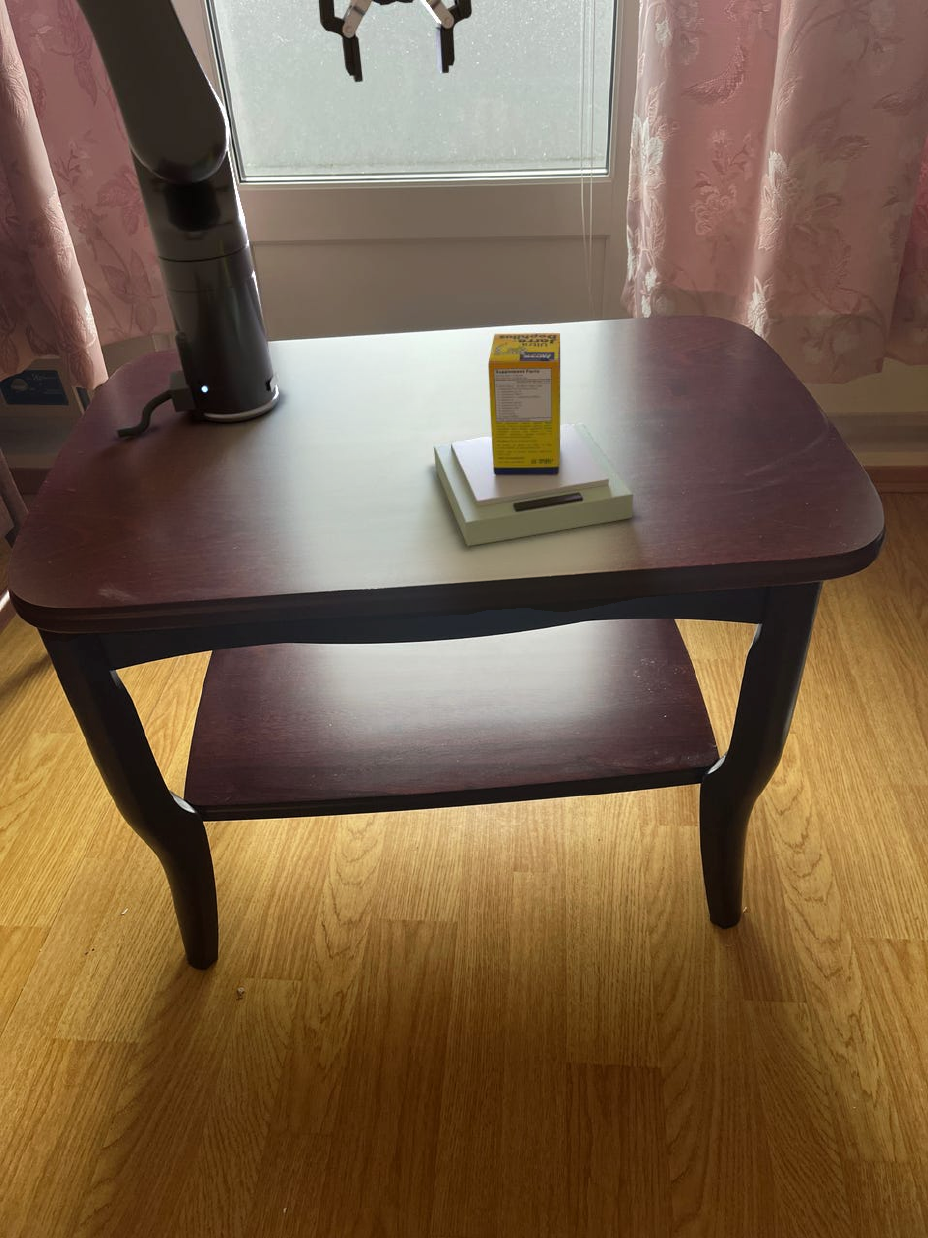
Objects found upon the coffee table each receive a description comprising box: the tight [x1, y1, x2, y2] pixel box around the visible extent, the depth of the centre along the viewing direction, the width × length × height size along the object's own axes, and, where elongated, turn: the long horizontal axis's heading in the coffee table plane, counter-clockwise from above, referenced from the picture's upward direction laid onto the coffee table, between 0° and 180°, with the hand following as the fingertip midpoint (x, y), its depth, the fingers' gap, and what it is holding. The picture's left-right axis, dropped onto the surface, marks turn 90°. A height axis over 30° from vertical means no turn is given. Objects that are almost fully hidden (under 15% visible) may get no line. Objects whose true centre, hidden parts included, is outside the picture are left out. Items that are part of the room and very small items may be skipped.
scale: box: [433, 422, 634, 547], centre depth 88 cm, size 15×14×3 cm
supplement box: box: [487, 332, 561, 474], centre depth 84 cm, size 6×6×11 cm
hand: (401, 76), depth 93 cm, fingers open, 8 cm apart
